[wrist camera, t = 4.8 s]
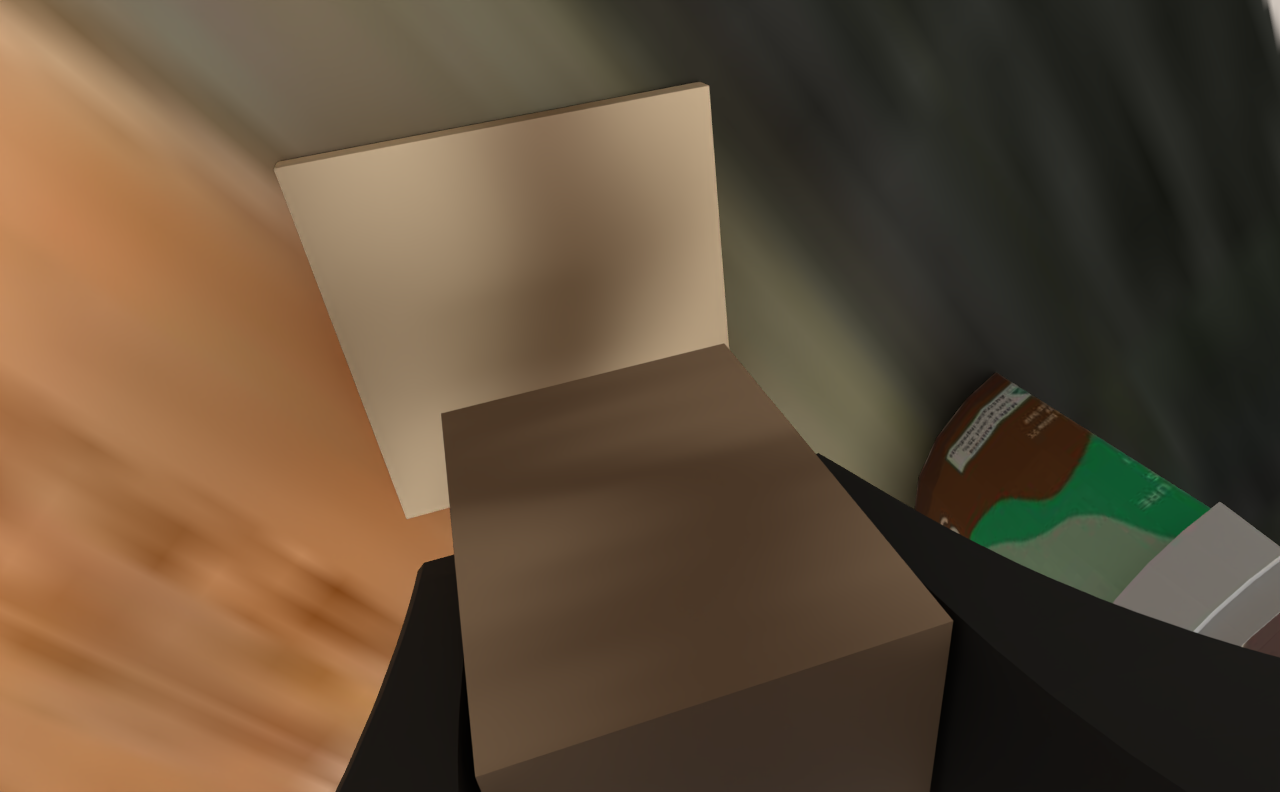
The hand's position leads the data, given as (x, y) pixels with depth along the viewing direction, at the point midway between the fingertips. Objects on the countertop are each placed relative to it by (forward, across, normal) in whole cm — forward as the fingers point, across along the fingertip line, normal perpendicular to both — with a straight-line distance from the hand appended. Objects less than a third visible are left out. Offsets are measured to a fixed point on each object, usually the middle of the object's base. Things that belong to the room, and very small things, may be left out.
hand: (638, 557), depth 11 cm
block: (+2, 0, 0) cm, 2 cm away
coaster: (+9, 0, 0) cm, 9 cm away
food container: (+9, -13, +11) cm, 19 cm away
